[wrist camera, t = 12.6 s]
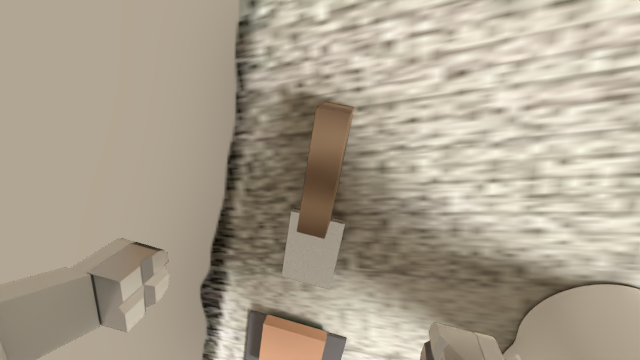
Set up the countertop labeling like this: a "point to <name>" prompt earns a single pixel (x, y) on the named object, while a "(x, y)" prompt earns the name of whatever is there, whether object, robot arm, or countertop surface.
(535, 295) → the countertop surface
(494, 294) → the countertop surface
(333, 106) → the turner
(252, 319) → the mat
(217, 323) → the countertop surface
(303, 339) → the tile
